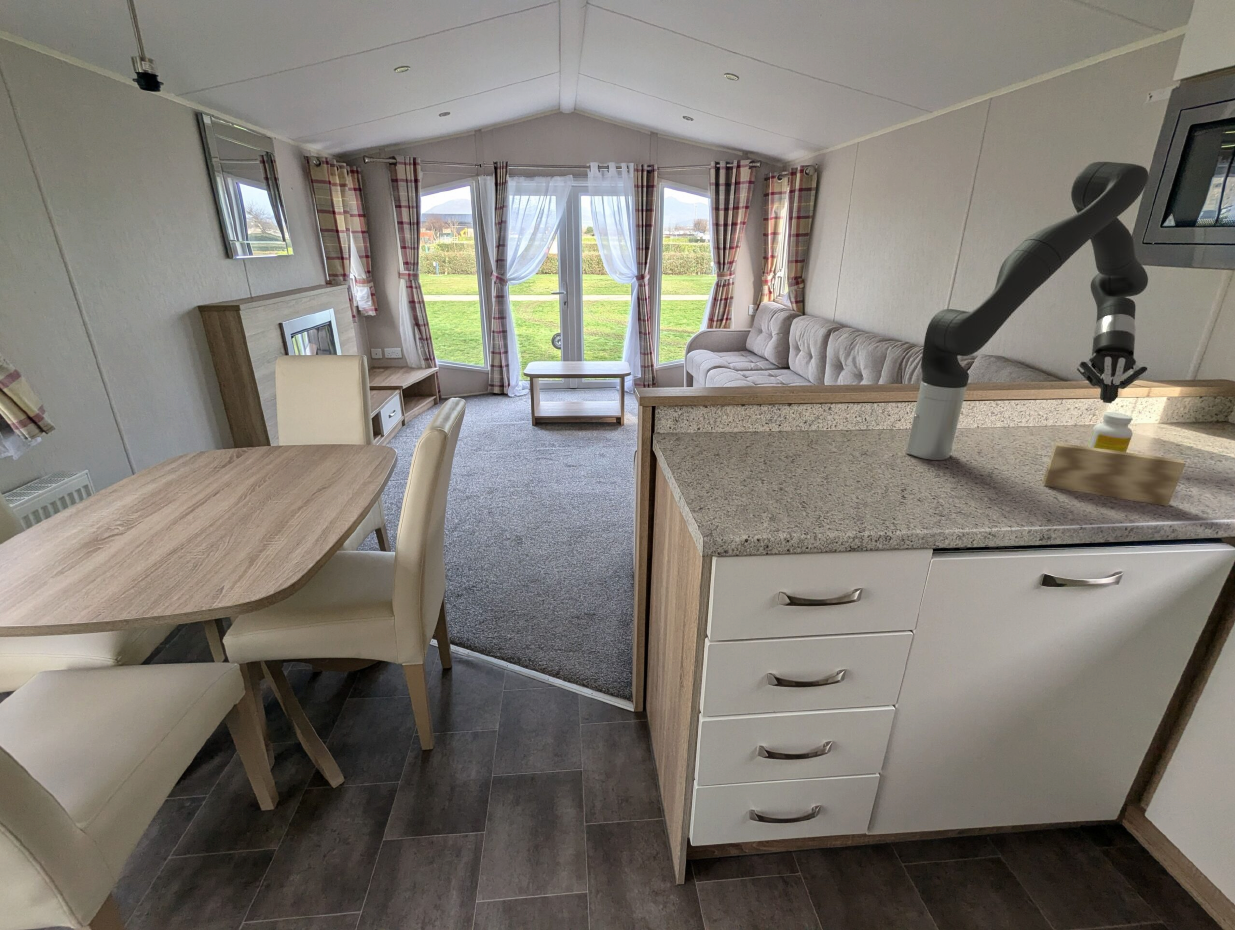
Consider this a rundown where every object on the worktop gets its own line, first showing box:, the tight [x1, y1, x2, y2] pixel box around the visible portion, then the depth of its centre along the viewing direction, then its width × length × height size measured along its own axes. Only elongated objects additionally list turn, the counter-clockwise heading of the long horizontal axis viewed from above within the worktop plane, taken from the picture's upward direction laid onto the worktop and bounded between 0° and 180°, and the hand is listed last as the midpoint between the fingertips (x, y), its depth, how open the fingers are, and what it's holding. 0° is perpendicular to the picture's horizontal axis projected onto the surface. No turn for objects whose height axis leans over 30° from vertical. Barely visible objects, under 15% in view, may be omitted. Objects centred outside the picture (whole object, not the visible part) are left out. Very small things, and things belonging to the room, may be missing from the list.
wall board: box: [1042, 442, 1187, 507], centre depth 116 cm, size 20×6×9 cm, turn 62°
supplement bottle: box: [1086, 411, 1133, 452], centre depth 125 cm, size 7×7×13 cm
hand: (1108, 401), depth 130 cm, fingers closed
